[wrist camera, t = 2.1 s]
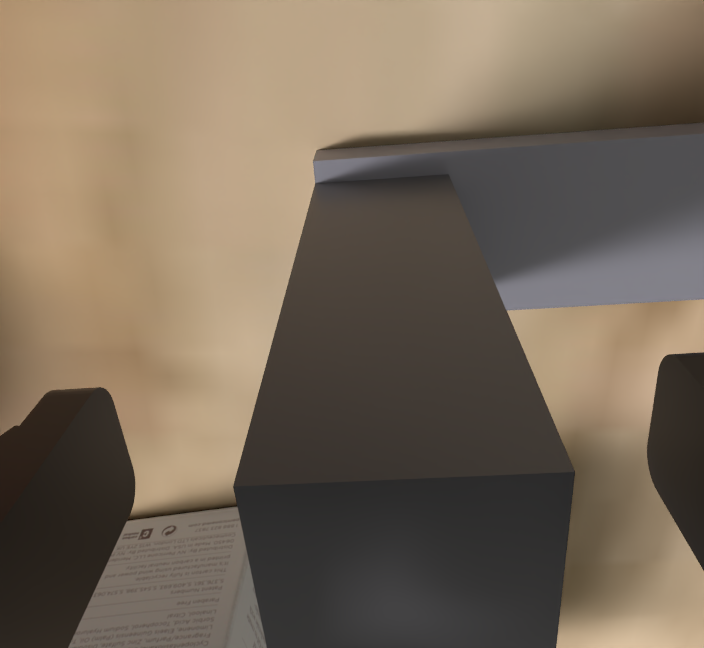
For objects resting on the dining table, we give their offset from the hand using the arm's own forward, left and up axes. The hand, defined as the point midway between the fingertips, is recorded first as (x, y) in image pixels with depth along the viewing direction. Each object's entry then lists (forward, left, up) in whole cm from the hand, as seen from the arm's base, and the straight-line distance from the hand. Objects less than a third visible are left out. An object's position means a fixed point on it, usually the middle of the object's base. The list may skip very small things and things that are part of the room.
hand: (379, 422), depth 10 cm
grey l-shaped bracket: (0, +8, -8) cm, 11 cm away
